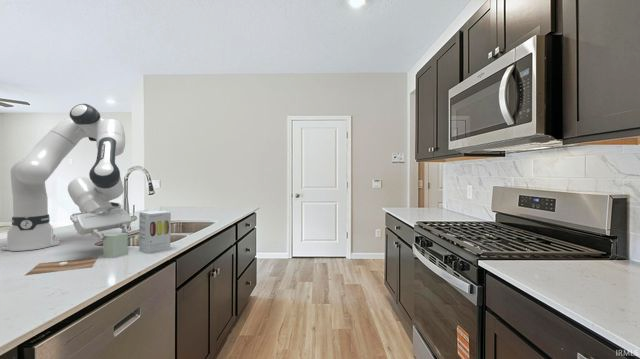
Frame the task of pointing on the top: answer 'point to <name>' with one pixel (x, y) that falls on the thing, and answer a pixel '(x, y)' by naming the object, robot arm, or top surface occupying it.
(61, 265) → the cream dish
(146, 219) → the supplement box
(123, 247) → the sage green eraser
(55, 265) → the walnut board
